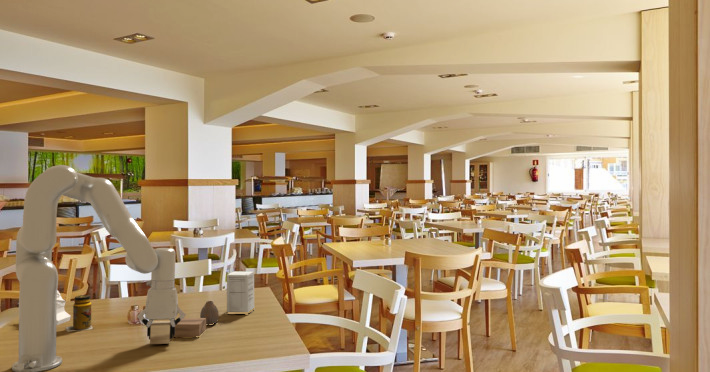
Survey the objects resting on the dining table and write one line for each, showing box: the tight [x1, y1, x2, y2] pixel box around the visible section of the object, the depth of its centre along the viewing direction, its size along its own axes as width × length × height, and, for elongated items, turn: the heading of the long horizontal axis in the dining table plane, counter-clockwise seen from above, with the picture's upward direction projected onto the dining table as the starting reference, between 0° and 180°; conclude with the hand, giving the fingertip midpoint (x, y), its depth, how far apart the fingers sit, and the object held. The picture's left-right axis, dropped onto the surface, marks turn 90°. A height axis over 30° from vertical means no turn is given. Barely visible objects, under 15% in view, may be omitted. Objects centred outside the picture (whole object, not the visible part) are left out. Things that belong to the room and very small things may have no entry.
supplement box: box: [226, 270, 255, 313], centre depth 221 cm, size 10×9×17 cm
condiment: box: [65, 294, 94, 333], centre depth 195 cm, size 7×8×12 cm
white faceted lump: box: [56, 289, 72, 326], centre depth 204 cm, size 12×15×14 cm
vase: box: [199, 300, 220, 324], centre depth 202 cm, size 7×7×9 cm
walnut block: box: [173, 317, 207, 338], centre depth 188 cm, size 9×9×5 cm
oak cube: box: [149, 320, 172, 345], centre depth 176 cm, size 6×6×6 cm
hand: (161, 337), depth 176 cm, fingers closed on oak cube, 6 cm apart
